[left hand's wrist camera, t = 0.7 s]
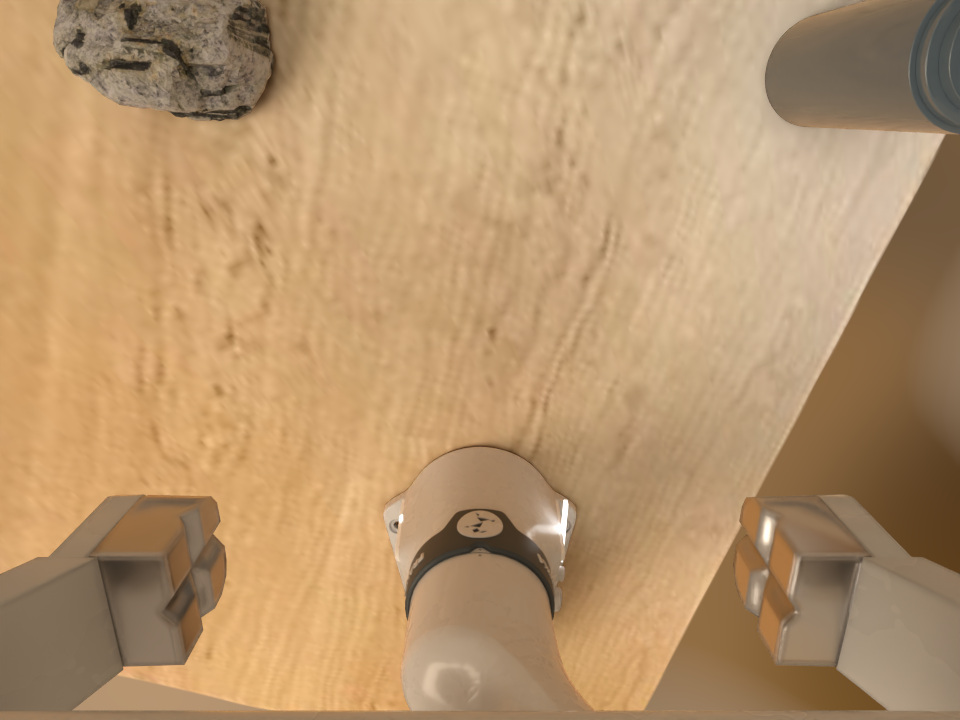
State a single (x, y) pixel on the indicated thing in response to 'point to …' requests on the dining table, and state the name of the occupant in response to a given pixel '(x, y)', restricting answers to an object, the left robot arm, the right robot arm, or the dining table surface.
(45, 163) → the dining table surface
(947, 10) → the bottle
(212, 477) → the dining table surface
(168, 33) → the rock
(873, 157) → the dining table surface
